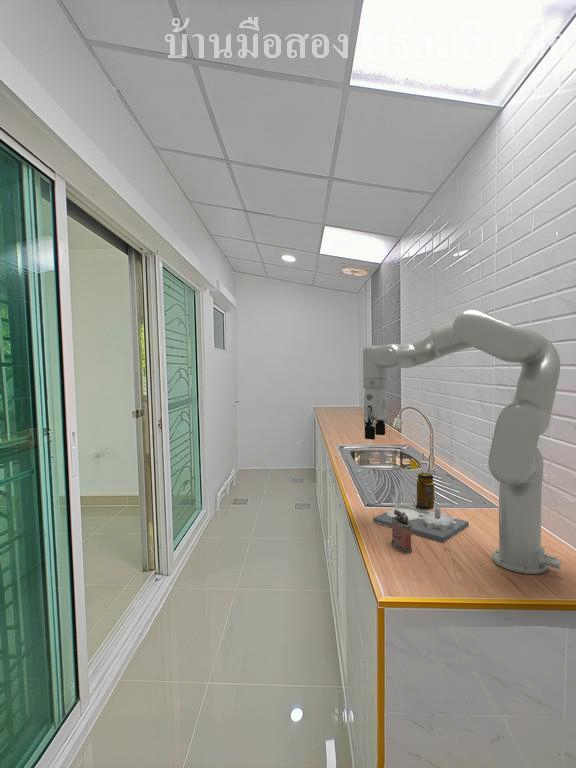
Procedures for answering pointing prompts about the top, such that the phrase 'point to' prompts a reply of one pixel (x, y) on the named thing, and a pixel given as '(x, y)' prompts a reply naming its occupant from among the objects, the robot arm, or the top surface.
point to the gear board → (423, 528)
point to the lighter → (401, 532)
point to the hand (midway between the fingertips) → (375, 437)
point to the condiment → (425, 492)
